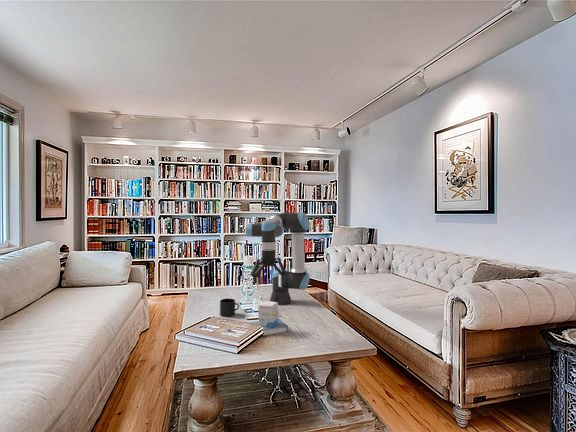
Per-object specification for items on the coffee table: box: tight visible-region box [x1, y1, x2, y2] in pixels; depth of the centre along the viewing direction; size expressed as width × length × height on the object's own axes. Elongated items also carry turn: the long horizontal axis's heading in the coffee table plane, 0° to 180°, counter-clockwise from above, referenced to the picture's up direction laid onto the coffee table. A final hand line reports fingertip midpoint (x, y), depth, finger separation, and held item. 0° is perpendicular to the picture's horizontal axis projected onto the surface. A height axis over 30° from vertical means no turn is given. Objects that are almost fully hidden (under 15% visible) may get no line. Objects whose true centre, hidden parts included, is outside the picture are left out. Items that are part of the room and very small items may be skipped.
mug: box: [219, 298, 240, 318], centre depth 203 cm, size 9×12×9 cm
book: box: [249, 318, 289, 337], centre depth 178 cm, size 18×13×4 cm
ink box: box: [257, 300, 279, 327], centre depth 178 cm, size 9×8×12 cm
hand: (268, 287), depth 177 cm, fingers open, 13 cm apart
